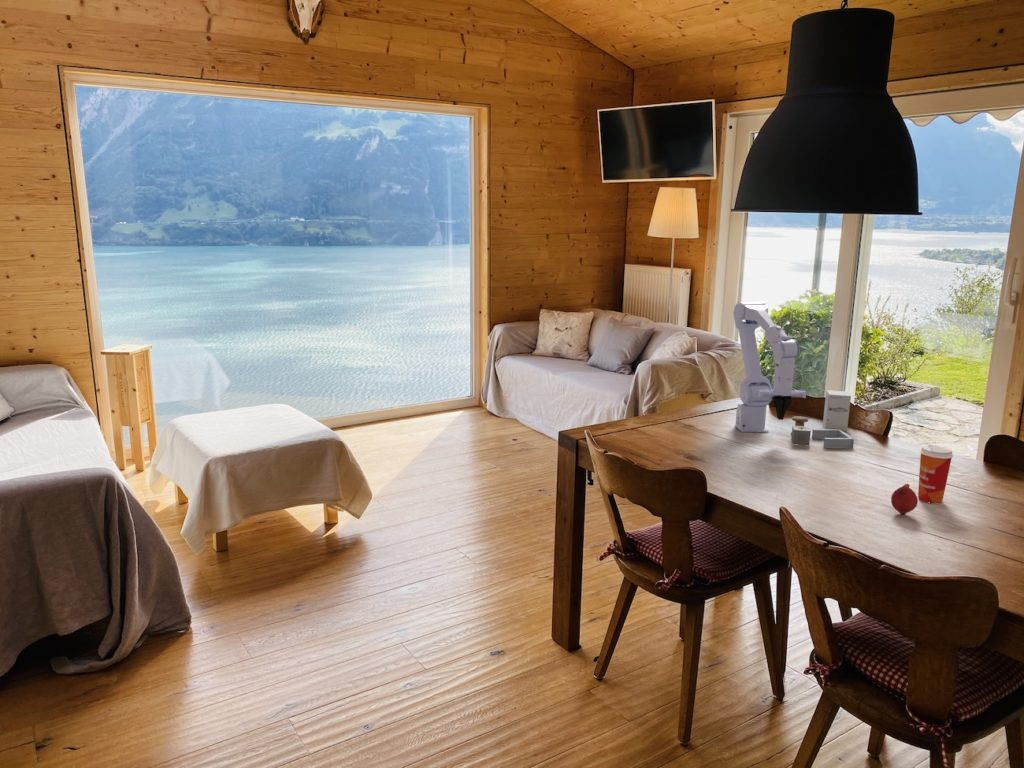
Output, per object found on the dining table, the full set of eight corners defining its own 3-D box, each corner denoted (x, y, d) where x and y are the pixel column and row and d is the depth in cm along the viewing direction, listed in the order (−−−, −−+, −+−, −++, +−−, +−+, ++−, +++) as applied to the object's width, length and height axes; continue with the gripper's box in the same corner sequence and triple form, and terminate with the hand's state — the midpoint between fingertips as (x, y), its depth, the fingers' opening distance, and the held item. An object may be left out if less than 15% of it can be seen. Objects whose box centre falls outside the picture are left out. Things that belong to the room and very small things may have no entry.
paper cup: (908, 494, 204) (914, 443, 201) (937, 494, 204) (944, 444, 201) (922, 505, 197) (929, 453, 193) (953, 505, 196) (960, 453, 193)
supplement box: (824, 429, 264) (828, 394, 261) (822, 424, 271) (826, 389, 268) (847, 431, 262) (851, 395, 259) (845, 426, 269) (848, 391, 266)
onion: (903, 520, 187) (907, 489, 185) (884, 511, 192) (887, 481, 190) (920, 516, 189) (924, 486, 187) (900, 508, 194) (904, 478, 193)
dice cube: (807, 441, 251) (808, 426, 250) (809, 446, 246) (810, 431, 245) (791, 440, 252) (792, 425, 251) (792, 444, 247) (794, 429, 246)
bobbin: (793, 437, 255) (795, 420, 253) (788, 433, 259) (790, 416, 258) (808, 437, 255) (810, 420, 253) (803, 433, 259) (805, 416, 258)
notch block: (824, 447, 244) (825, 438, 243) (811, 437, 255) (812, 429, 254) (853, 448, 244) (854, 439, 243) (839, 438, 254) (840, 429, 254)
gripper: (764, 380, 241) (761, 421, 244) (811, 380, 241) (807, 422, 244) (757, 375, 248) (754, 416, 251) (803, 375, 247) (799, 416, 250)
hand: (780, 418), depth 248 cm, fingers closed
